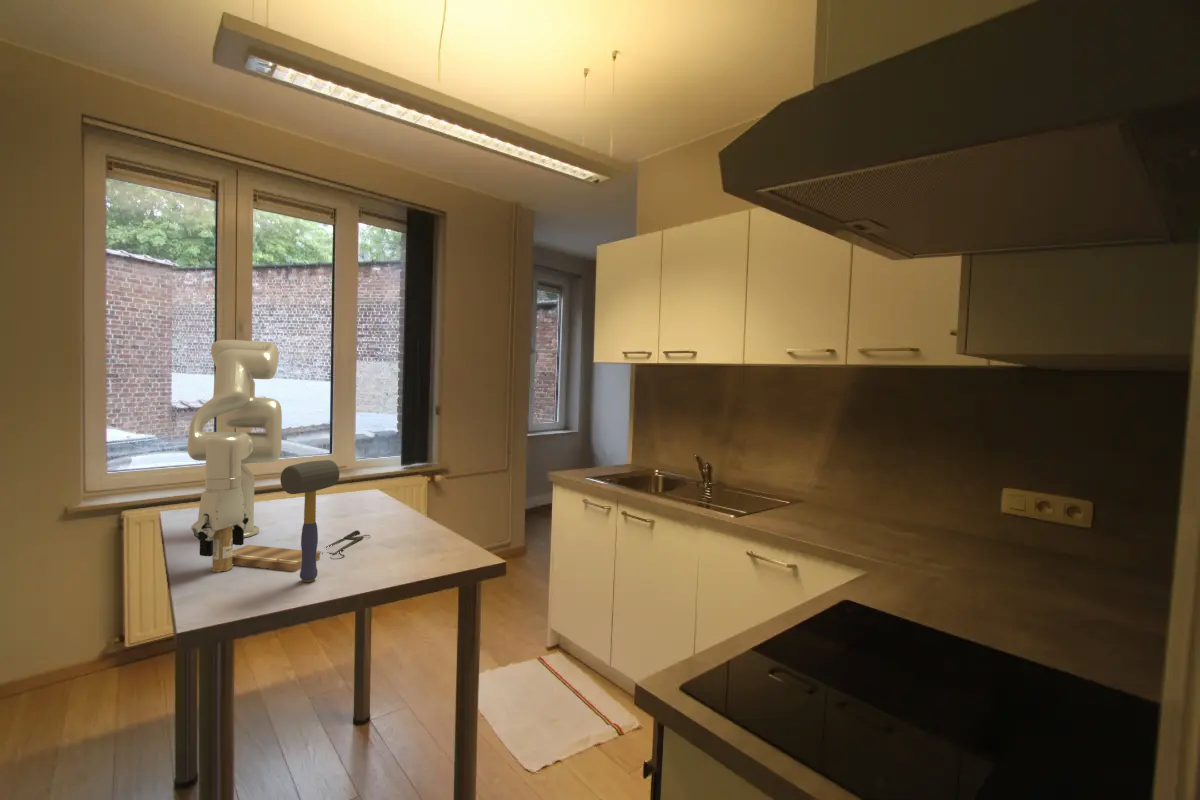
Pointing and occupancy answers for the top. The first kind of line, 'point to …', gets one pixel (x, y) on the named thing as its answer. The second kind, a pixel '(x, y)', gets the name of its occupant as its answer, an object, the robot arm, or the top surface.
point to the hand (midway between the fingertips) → (222, 550)
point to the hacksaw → (347, 544)
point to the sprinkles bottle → (222, 550)
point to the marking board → (269, 557)
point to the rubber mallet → (309, 504)
